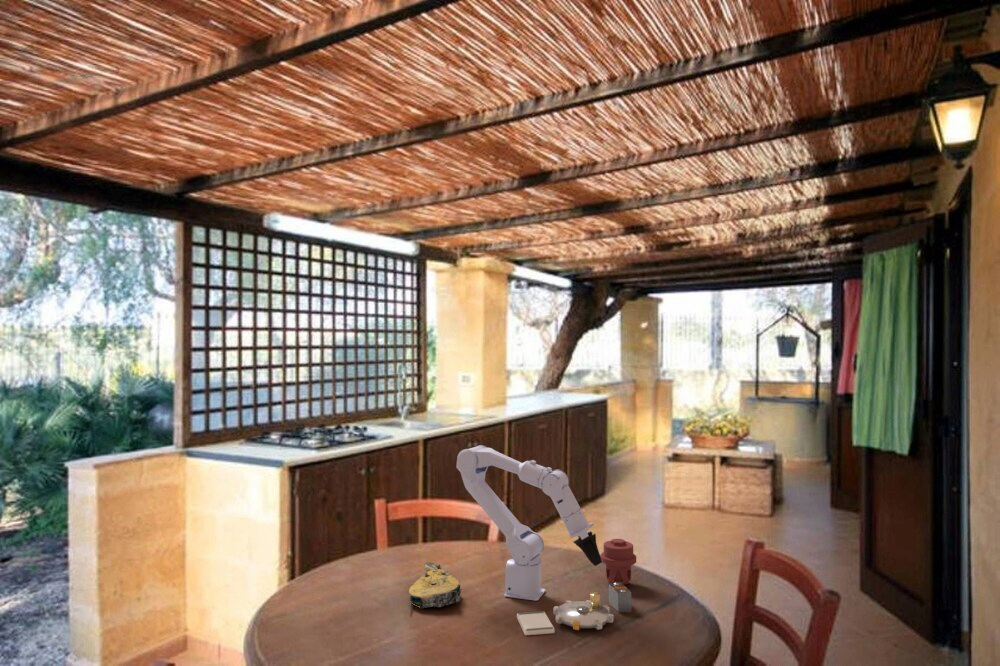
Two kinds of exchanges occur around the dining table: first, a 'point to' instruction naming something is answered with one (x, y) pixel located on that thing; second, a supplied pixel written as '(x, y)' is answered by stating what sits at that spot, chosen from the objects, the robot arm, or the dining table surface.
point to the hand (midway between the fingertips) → (596, 562)
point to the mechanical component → (618, 560)
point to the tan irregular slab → (435, 588)
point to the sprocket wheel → (583, 613)
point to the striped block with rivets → (620, 597)
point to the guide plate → (535, 623)
